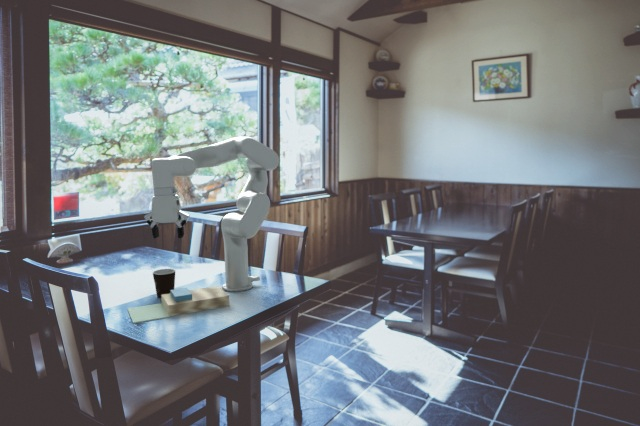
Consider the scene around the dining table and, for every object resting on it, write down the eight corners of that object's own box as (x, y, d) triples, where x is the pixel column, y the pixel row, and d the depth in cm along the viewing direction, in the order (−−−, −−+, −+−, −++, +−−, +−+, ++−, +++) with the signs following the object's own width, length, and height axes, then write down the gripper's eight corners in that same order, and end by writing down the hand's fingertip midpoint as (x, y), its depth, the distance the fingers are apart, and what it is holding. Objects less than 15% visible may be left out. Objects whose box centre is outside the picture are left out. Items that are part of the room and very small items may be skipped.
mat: (161, 304, 185) (161, 303, 185) (169, 317, 171) (169, 316, 170) (127, 309, 179) (127, 308, 179) (133, 323, 165) (133, 322, 165)
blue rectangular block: (186, 292, 185) (186, 287, 185) (192, 299, 177) (192, 294, 177) (170, 295, 182) (170, 290, 182) (175, 302, 174) (175, 296, 174)
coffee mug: (173, 299, 190) (171, 274, 189) (151, 299, 190) (149, 274, 189) (181, 290, 202) (180, 266, 200) (160, 290, 202) (159, 267, 200)
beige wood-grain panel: (218, 295, 194) (218, 286, 193) (229, 305, 182) (229, 295, 181) (161, 304, 184) (161, 294, 183) (168, 316, 171) (168, 305, 171)
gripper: (191, 190, 181) (194, 235, 184) (147, 191, 183) (151, 235, 186) (182, 192, 173) (186, 239, 176) (137, 193, 176) (141, 239, 179)
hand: (168, 237), depth 181 cm, fingers open, 9 cm apart
